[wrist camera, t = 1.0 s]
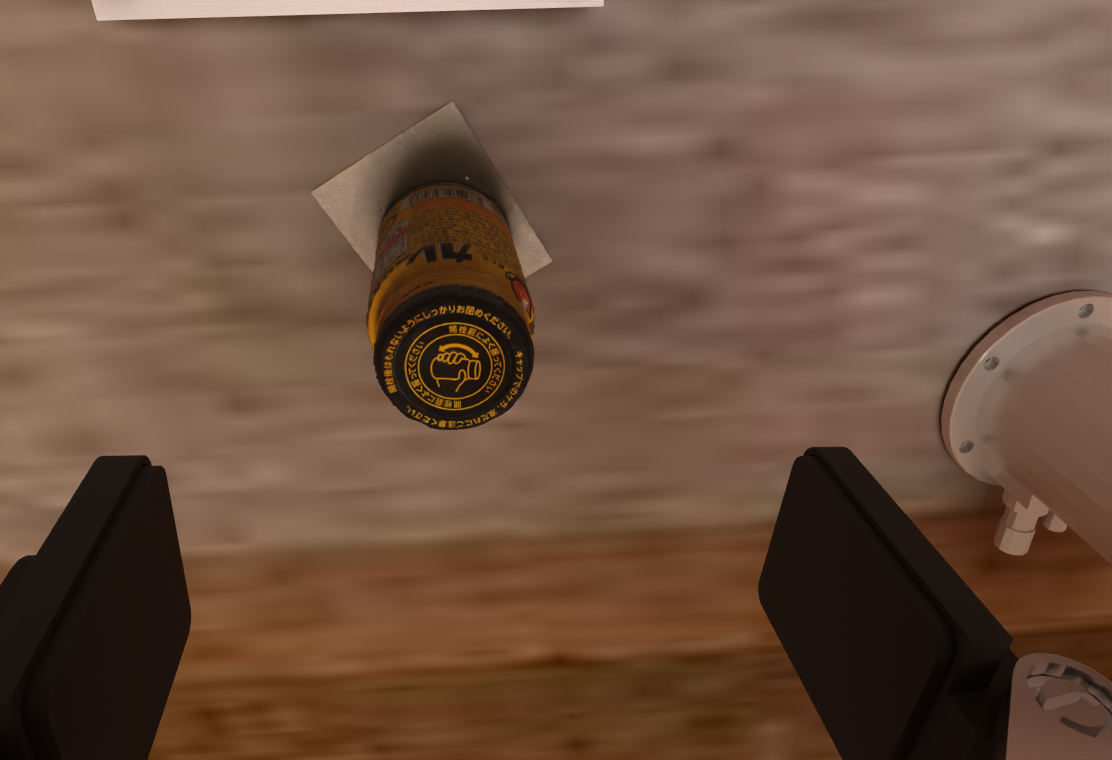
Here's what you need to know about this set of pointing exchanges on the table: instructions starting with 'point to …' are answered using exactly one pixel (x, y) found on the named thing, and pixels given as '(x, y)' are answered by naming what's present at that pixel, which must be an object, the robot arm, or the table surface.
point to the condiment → (441, 272)
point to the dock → (304, 7)
